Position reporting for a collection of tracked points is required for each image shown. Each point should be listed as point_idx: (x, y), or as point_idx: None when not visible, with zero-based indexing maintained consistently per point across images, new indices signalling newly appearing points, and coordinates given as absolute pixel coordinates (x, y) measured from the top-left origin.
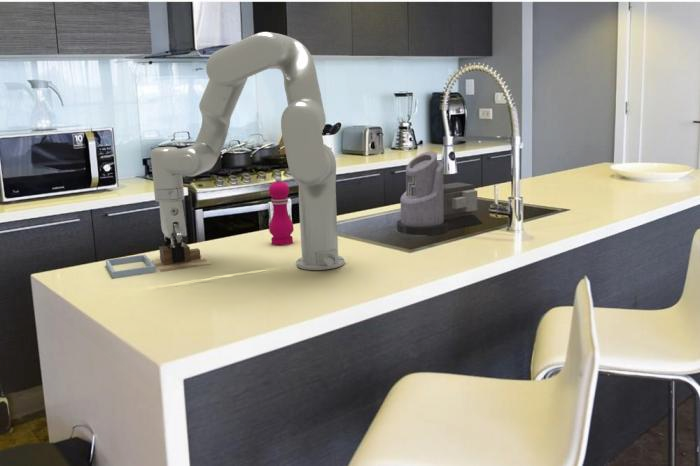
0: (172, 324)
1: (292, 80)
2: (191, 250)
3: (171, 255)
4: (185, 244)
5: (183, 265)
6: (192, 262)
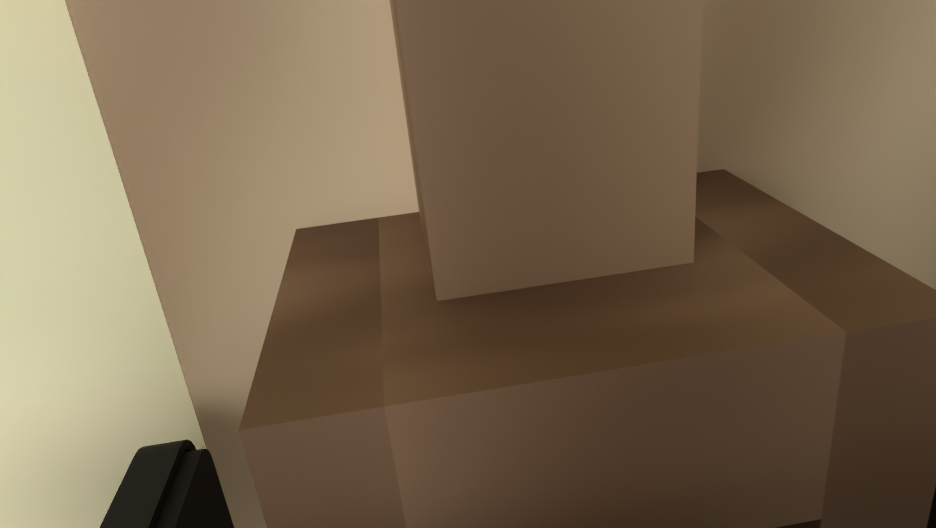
0: None
1: None
2: (602, 179)
3: None
4: (455, 422)
5: None
6: (806, 144)
